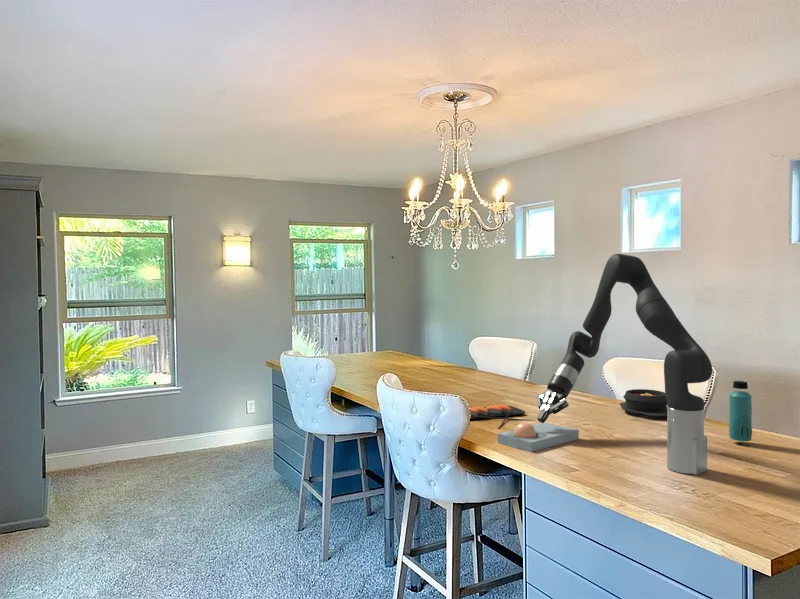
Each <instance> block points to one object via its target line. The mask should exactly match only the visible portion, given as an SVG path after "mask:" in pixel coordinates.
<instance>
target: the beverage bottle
mask: <svg viewBox="0 0 800 599" xmlns="http://www.w3.org/2000/svg"><path fill="white" fill-rule="evenodd" d="M732 388H733V389H738V390H733V391H732V392H731V393H729V419H728V422H729V424H728V426H729V427H728V435H729V438H730V439H731V440H733V441H737V442H751V441H752V438H753V437H752V436H753V426H752V424H753V421H752V420H753V419H752V416H753V411H752V410H753V407H752V399H753V398H752V395H751V394H750V393H749V392H748V391H743V390H747V389H749V387H748V382H747V381H742V380H735V381H733V385H732Z"/></svg>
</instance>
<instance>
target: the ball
mask: <svg viewBox="0 0 800 599" xmlns="http://www.w3.org/2000/svg"><path fill="white" fill-rule="evenodd" d="M513 430H514V436H516V437H520V438H535V437H536V432H535V429H534V427H533V426H532V423H531V424H530V423H529V422H520V423H518V424H517V425H516V426H515V427H514V429H513Z"/></svg>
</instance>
